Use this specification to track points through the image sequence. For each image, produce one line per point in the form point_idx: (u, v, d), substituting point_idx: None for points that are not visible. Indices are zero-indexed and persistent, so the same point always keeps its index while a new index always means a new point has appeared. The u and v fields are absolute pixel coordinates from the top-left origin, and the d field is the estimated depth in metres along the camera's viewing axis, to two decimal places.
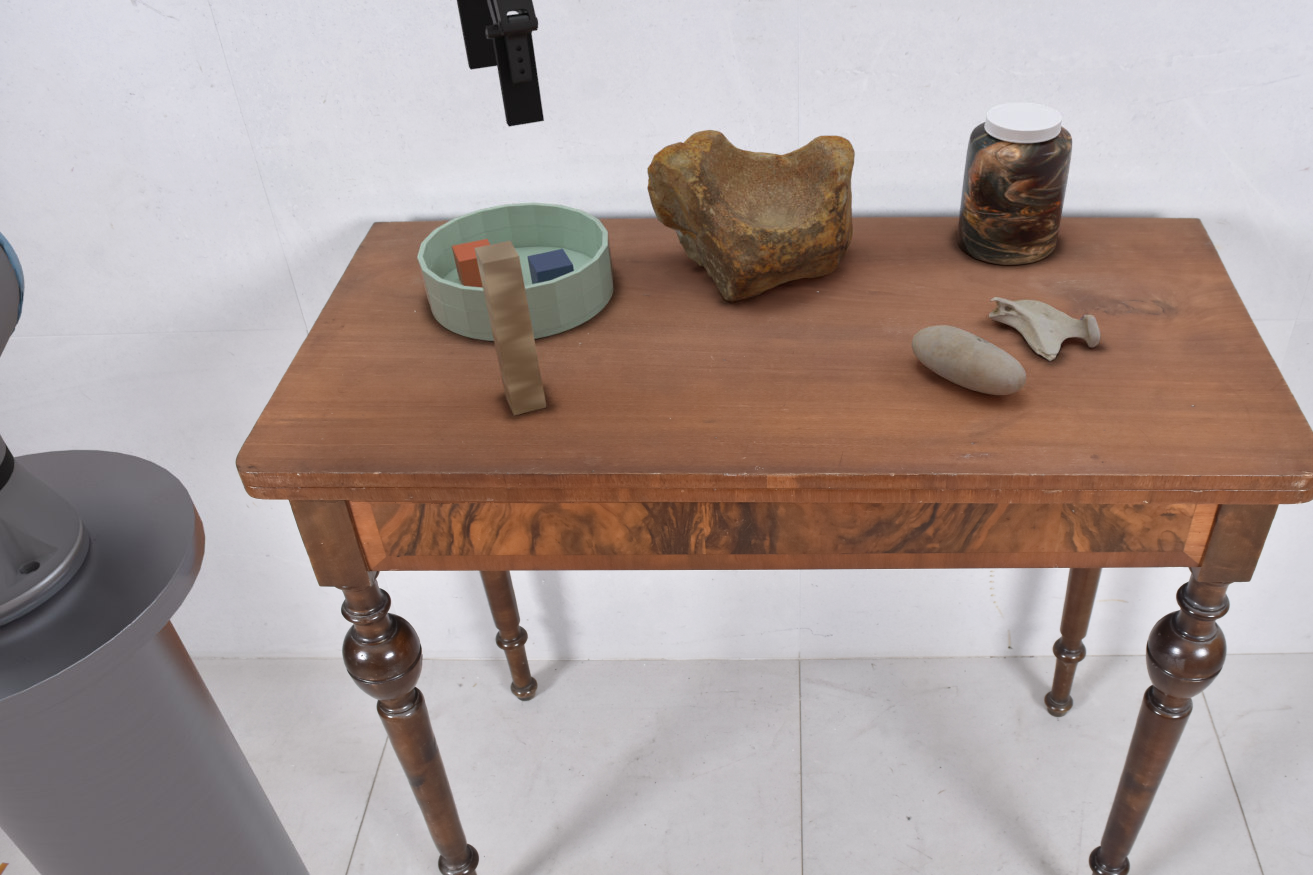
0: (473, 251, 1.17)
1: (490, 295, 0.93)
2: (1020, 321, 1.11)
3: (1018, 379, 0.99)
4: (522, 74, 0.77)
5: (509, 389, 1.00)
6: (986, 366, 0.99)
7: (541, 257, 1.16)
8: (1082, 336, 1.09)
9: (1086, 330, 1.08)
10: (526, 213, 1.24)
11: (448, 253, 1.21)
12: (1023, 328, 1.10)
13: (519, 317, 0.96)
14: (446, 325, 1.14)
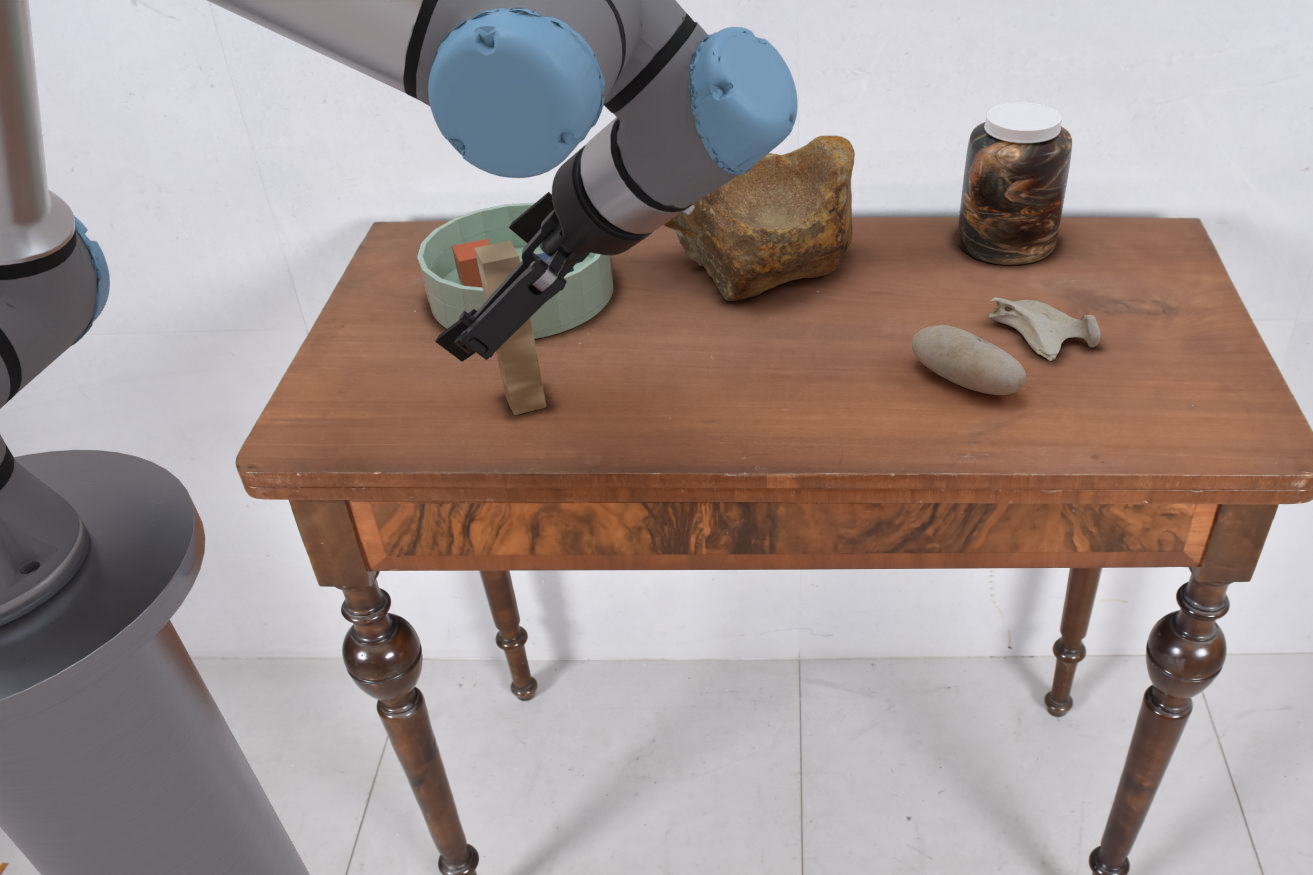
0: (473, 251, 1.17)
1: (490, 295, 0.93)
2: (1020, 321, 1.11)
3: (1018, 379, 0.99)
4: (463, 347, 0.84)
5: (509, 389, 1.00)
6: (986, 366, 0.99)
7: (541, 257, 1.16)
8: (1082, 336, 1.09)
9: (1086, 330, 1.08)
10: None
11: (448, 253, 1.21)
12: (1023, 328, 1.10)
13: None
14: (446, 325, 1.14)
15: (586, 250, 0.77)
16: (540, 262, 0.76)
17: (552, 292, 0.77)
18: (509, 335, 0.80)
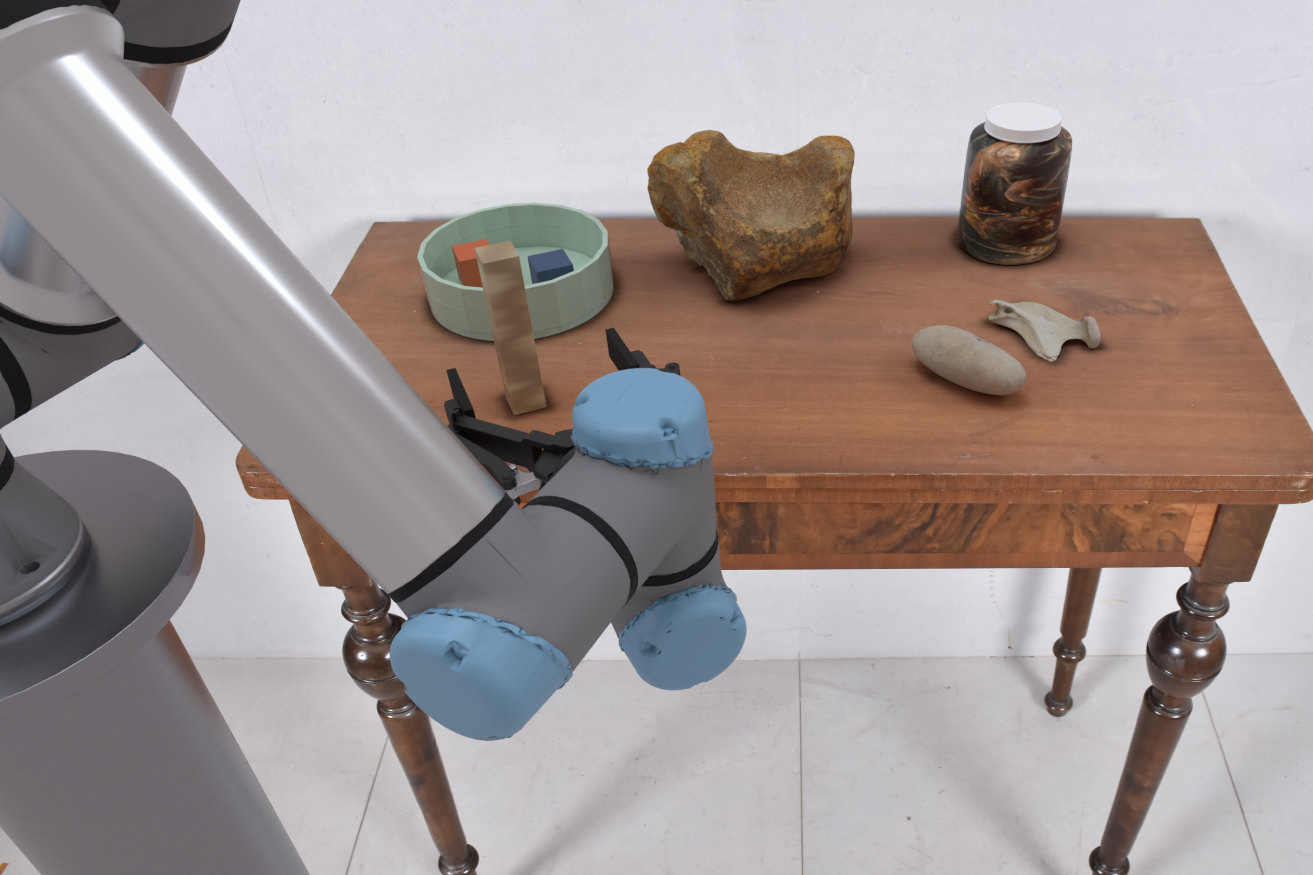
0: (473, 251, 1.17)
1: (490, 295, 0.93)
2: (1020, 323, 1.11)
3: (1018, 379, 0.99)
4: (446, 413, 0.85)
5: (509, 389, 1.00)
6: (986, 366, 0.99)
7: (541, 257, 1.16)
8: (1082, 338, 1.09)
9: (1086, 332, 1.08)
10: (526, 213, 1.24)
11: (448, 253, 1.21)
12: (1023, 330, 1.11)
13: (519, 317, 0.96)
14: (446, 325, 1.14)
15: None
16: (509, 482, 0.76)
17: None
18: None
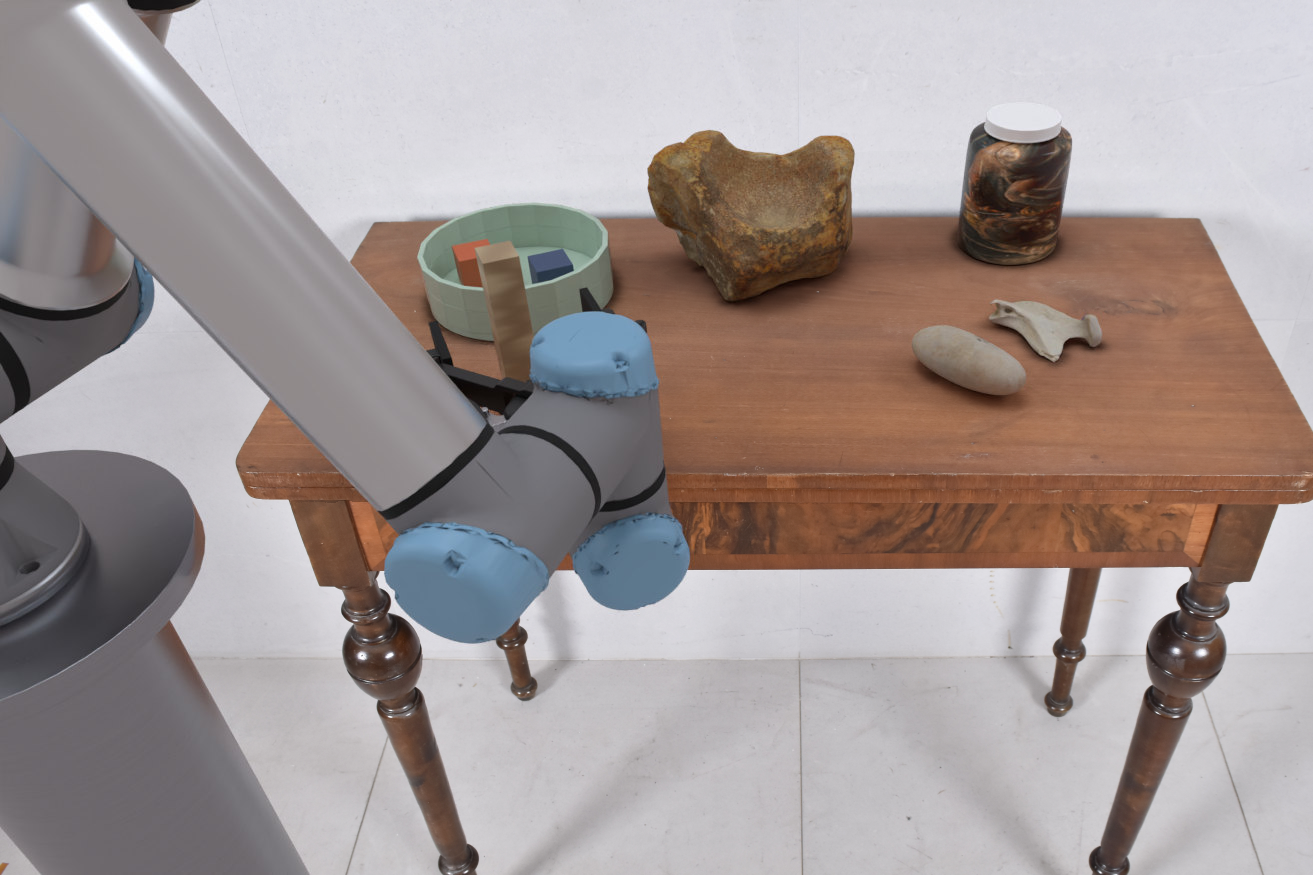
0: (473, 251, 1.17)
1: (490, 295, 0.93)
2: (1021, 323, 1.11)
3: (1018, 379, 0.99)
4: None
5: None
6: (986, 366, 0.99)
7: (541, 257, 1.16)
8: (1084, 336, 1.09)
9: (1087, 330, 1.08)
10: (526, 213, 1.24)
11: (448, 253, 1.21)
12: (1024, 329, 1.10)
13: (519, 317, 0.96)
14: (446, 325, 1.14)
15: None
16: None
17: None
18: None
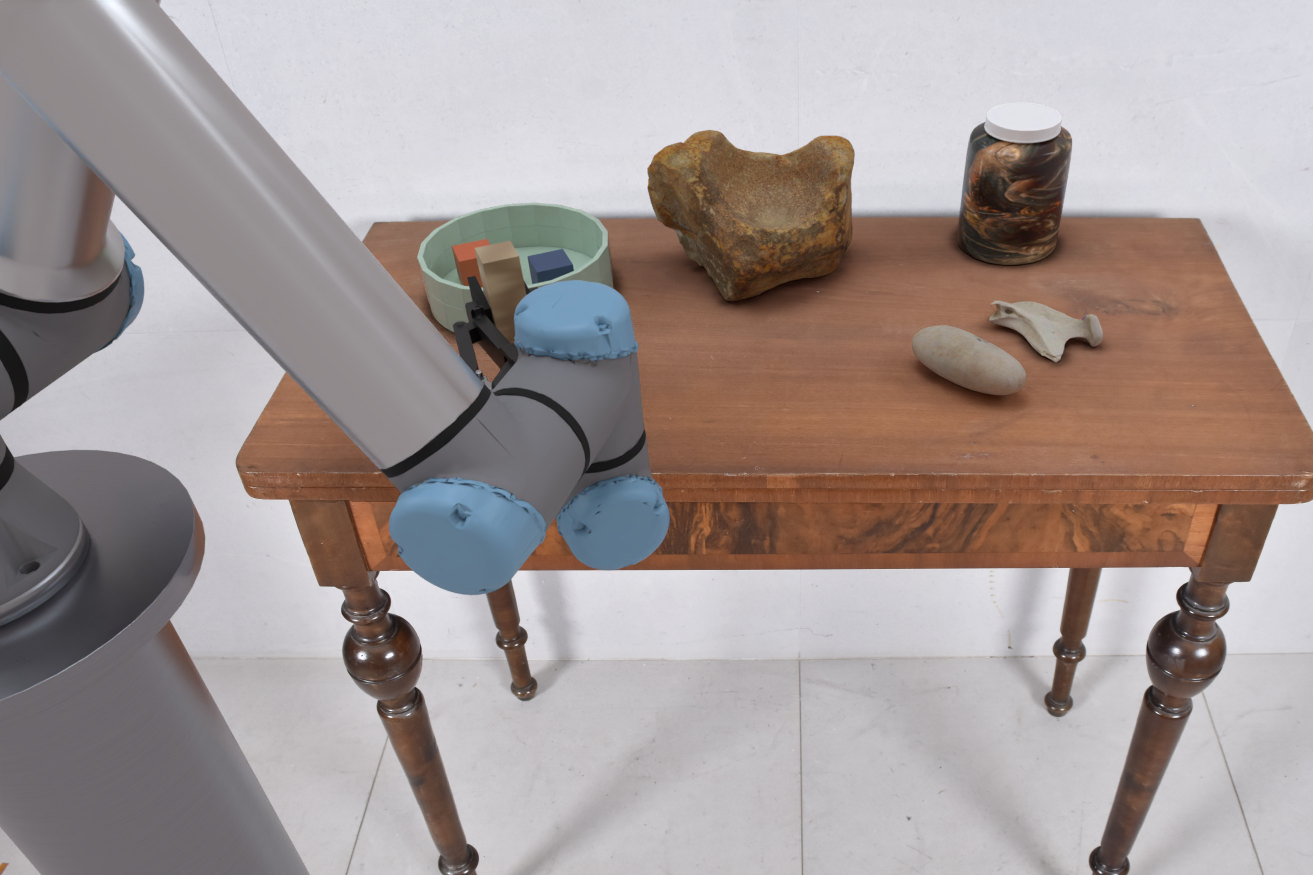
0: (473, 251, 1.17)
1: (490, 295, 0.93)
2: (1021, 323, 1.10)
3: (1018, 379, 0.99)
4: (467, 313, 0.97)
5: None
6: (986, 366, 0.99)
7: (541, 257, 1.16)
8: (1084, 336, 1.09)
9: (1088, 330, 1.08)
10: (526, 213, 1.24)
11: (448, 253, 1.21)
12: (1024, 330, 1.10)
13: None
14: (446, 325, 1.14)
15: None
16: None
17: None
18: None
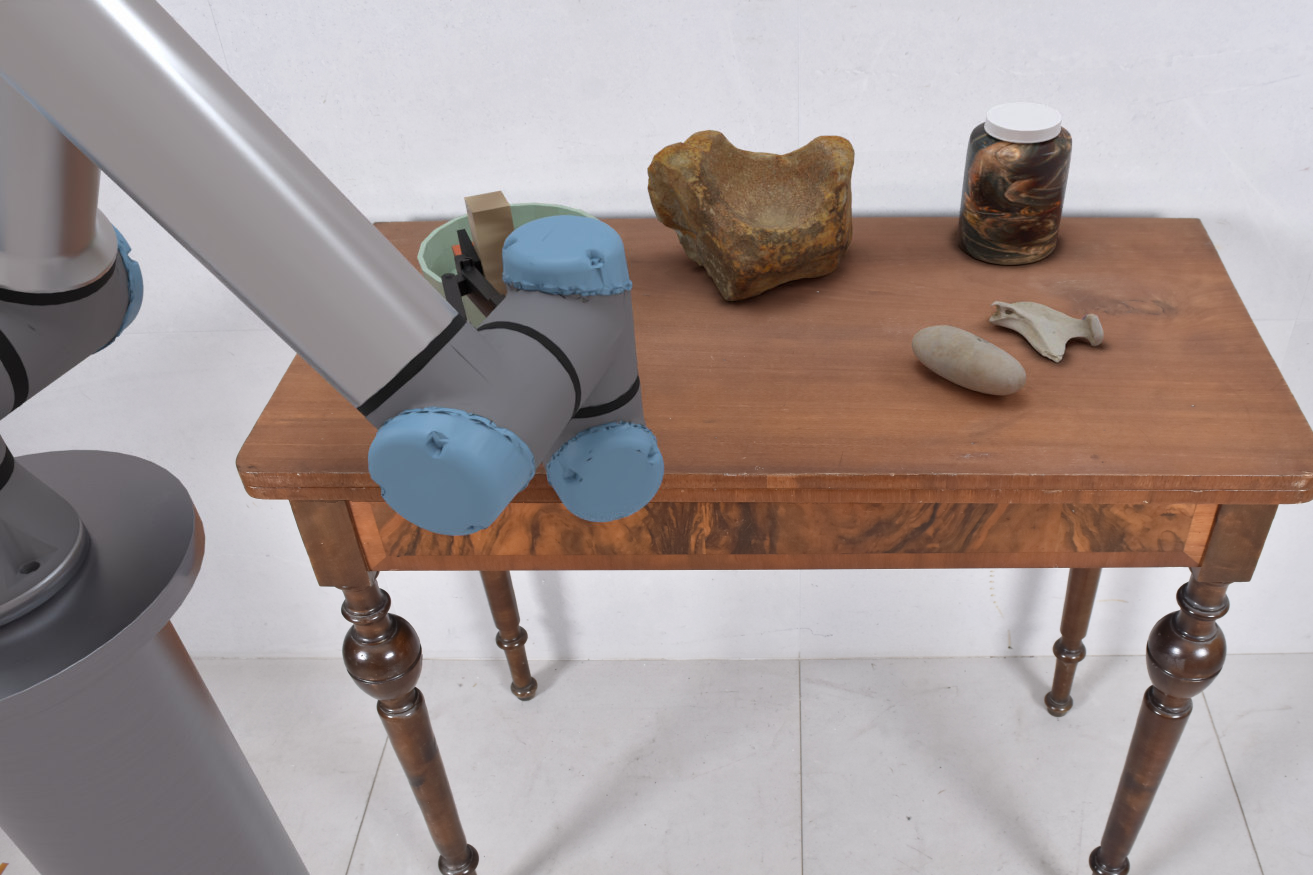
0: None
1: (479, 246, 0.90)
2: (1022, 324, 1.10)
3: (1018, 379, 0.99)
4: (456, 266, 0.94)
5: None
6: (986, 366, 0.99)
7: None
8: (1085, 335, 1.09)
9: (1088, 330, 1.08)
10: (526, 213, 1.24)
11: (448, 253, 1.21)
12: (1025, 330, 1.10)
13: None
14: None
15: None
16: None
17: None
18: None
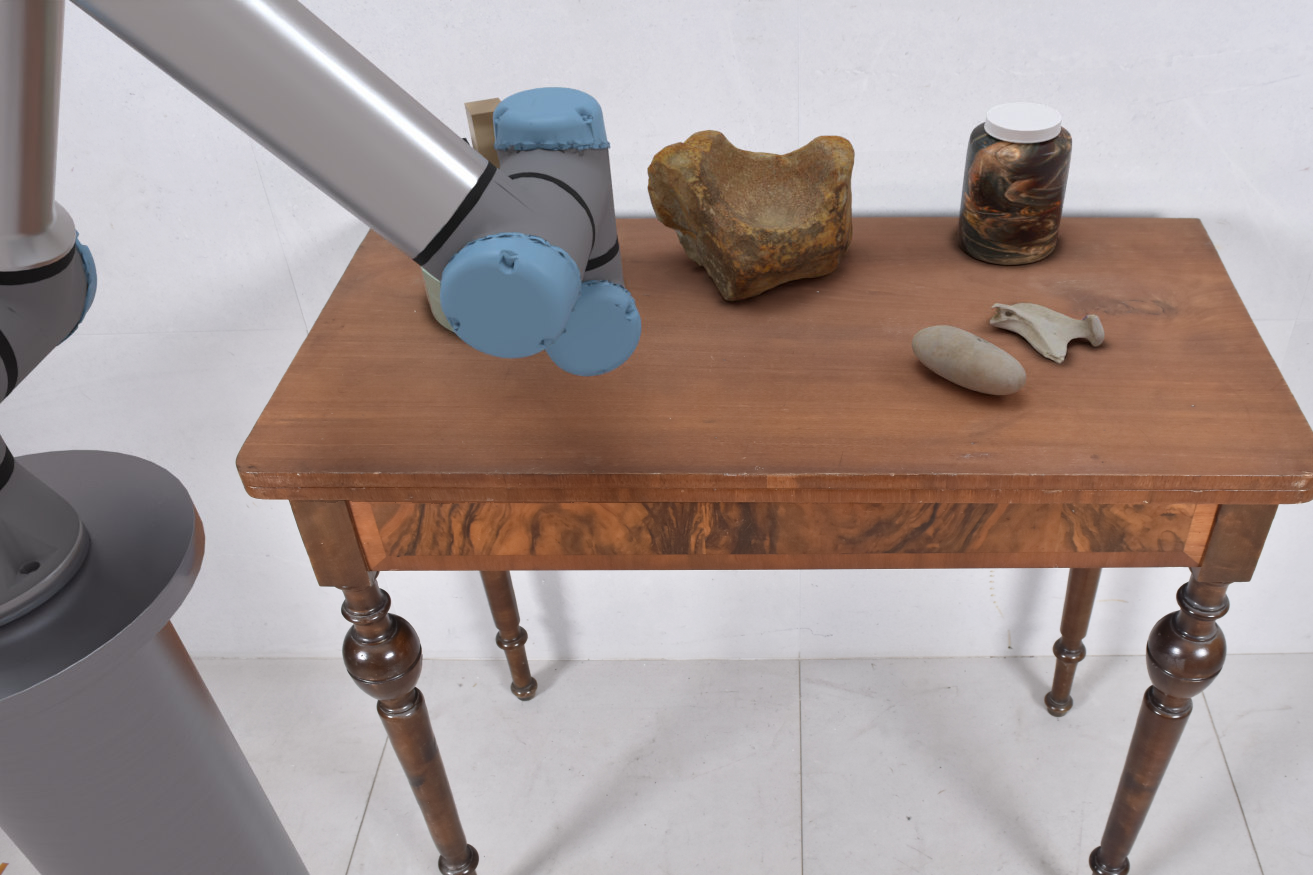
0: None
1: (478, 147, 0.98)
2: (1022, 325, 1.10)
3: (1018, 379, 0.99)
4: None
5: None
6: (986, 366, 0.99)
7: None
8: (1086, 336, 1.09)
9: (1089, 330, 1.09)
10: None
11: None
12: (1026, 332, 1.10)
13: None
14: (446, 325, 1.14)
15: None
16: None
17: None
18: None
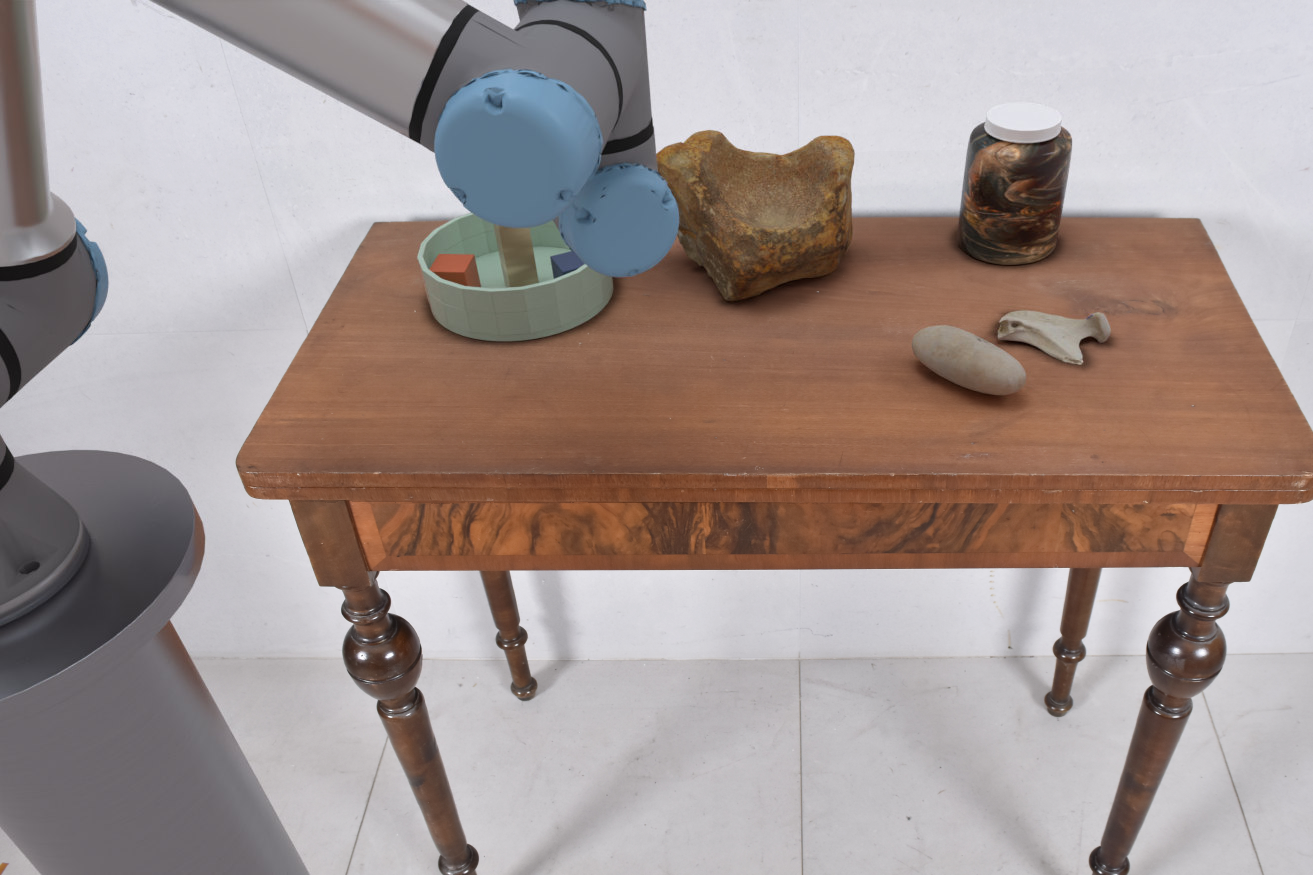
0: (449, 264, 1.15)
1: None
2: (1030, 334, 1.09)
3: (1018, 379, 0.99)
4: None
5: (507, 272, 1.15)
6: (986, 366, 0.99)
7: (564, 257, 1.16)
8: (1092, 334, 1.09)
9: (1095, 328, 1.09)
10: None
11: (448, 253, 1.21)
12: (1035, 340, 1.09)
13: None
14: (446, 325, 1.14)
15: None
16: None
17: None
18: None
